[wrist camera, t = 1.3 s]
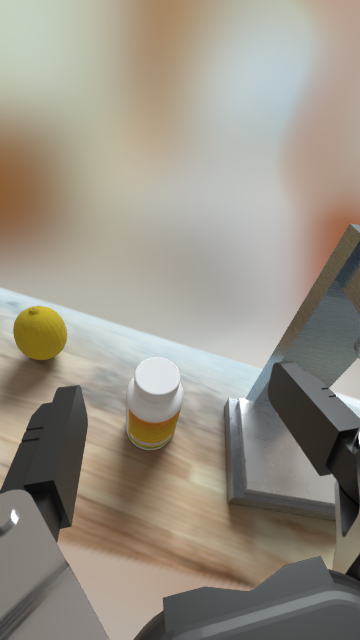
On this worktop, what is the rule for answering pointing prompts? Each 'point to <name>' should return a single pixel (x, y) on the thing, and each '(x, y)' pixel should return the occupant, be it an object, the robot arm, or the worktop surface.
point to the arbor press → (312, 356)
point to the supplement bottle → (153, 403)
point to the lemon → (40, 333)
